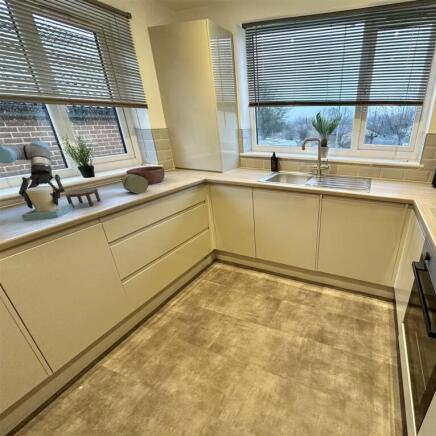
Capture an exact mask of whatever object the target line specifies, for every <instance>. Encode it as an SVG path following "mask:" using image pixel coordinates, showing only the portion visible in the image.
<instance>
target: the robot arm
mask: <svg viewBox="0 0 436 436" xmlns="http://www.w3.org/2000/svg"><path fill="white" fill-rule="evenodd" d="M51 154H52V152H51V148H50V146H49V145H48V144H47V143H46V142H44V141H41V140H35V141H31V142H30V143H29V145H28V144H26V145H25V144H24V145H22V144H8V143H7V144H6V143H1V142H0V164H12V163H14V162H16V161H29V162H30V166H29V167H30V176H29V177H25V176H22V177H21V180H22V182H21V185H20V188H19V190H18V195H20V197H22V198H23V197H24V201H25V203H26V206H27V207H28V208H29V209H31V210H33V207H34V206H33V204H32V202H31V200H30V198H29V196H28V194H27V193H26V189H29V188H33V187H39V186H40V185H47V184H48V186H51V187H52V188H53V198H54V203H55V204H56V205H57V206H59V199H61V193H66V192H65V188H64V186H63V184H62V182H61V176H60V175H59V174H58V173H57V174H54V175H53V170H52V157H51V156H52V155H51ZM53 179H54V180H55V182H56V184H57V186H58V188H57V187H56V186H55V185H54V183H52V180H53Z"/></svg>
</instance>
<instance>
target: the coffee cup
mask: <svg viewBox="0 0 436 436" xmlns="http://www.w3.org/2000/svg"><path fill="white" fill-rule="evenodd" d="M53 192H54V189H53V188H52V187H51V186H50V185H41V186H40V185H39V186H37V187H33V188H29V189H26V193H27V194H28V196H29V198H30V200H31V202H32V206H33V207H34V209H36V211H37V213H43V212H54V211H57V210H59V205H56V204H55V203H54V198H53Z"/></svg>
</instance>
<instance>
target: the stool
mask: <svg viewBox="0 0 436 436" xmlns="http://www.w3.org/2000/svg"><path fill="white" fill-rule="evenodd" d="M93 194H94V195H95V198H96V202H97V203H99V202H101V201H102V200H101V197H100V194H99V190H98V188H97V187H81V188H76V189H72V190H68V191H66V192H64V195H65V197H66V200H67V202H68V204H72V207H73V209H74V208H75V205H74V203H73V200H72V198H77V200H78V203H79V204H83V203H84V201H83V198H82V197H86V200H87V202H88V205H89V207H94V203H93V200H92V198H91V195H93Z"/></svg>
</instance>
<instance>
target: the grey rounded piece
mask: <svg viewBox="0 0 436 436" xmlns="http://www.w3.org/2000/svg"><path fill="white" fill-rule="evenodd" d="M120 180H121V183H122V186H123V189H124V190H125V191H127V192H130V193H134V194H138V195H140V194H143V193H145V192H147V190H148V188H149V185H148V182H147V180H146V179H145V178H144V177H141V176H137V175H133V174H127V173H126V174H124V175H123V176H122V177H121V179H120Z"/></svg>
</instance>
